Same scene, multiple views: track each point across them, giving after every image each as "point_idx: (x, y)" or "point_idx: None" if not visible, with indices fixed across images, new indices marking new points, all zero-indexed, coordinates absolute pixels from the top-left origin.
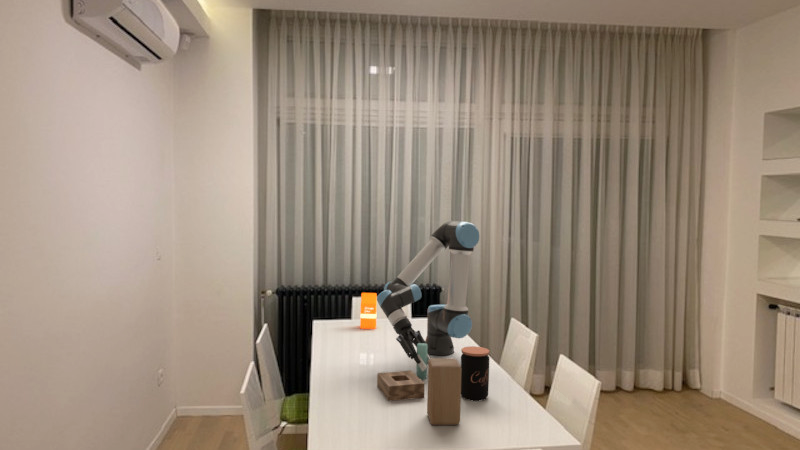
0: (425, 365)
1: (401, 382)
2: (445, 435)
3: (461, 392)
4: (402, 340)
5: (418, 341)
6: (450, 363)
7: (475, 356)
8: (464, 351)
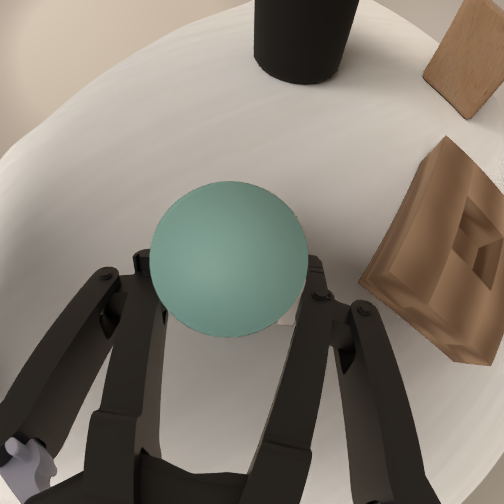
0: None
1: (496, 210)
2: None
3: (336, 68)
4: (419, 472)
5: (130, 379)
6: (497, 5)
7: None
8: None
